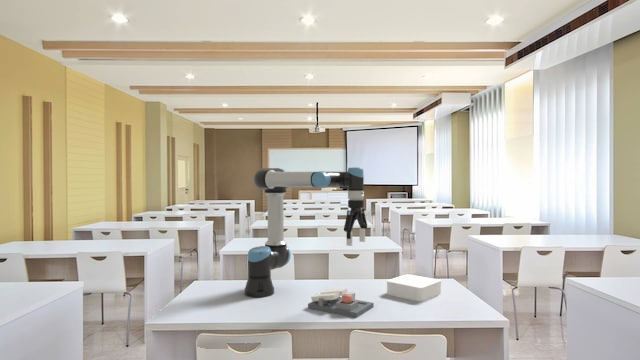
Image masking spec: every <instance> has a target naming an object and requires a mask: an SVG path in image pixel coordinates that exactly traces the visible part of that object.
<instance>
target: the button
mask: <svg viewBox="0 0 640 360" xmlns="http://www.w3.org/2000/svg"><path fill="white" fill-rule="evenodd" d="M341 297H342V303H344V304H352V295H351V294H349V293H346V294H343V295H341Z"/></svg>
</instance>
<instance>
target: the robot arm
mask: <svg viewBox="0 0 640 360" xmlns="http://www.w3.org/2000/svg"><path fill="white" fill-rule="evenodd" d="M364 178H365V176H364V168H363V167H354V166H353V167H347V171H325V170H323V171H322V170H320V171H286V170H285V169H283V168H279V167H278V168H277V167H275V168H273V167H272V168H271V167H268V168H267V167H264V168H263V167H262V168H260V169H258V170H256V171H255V173H254V176H253V182H254V186H256V188H257V189H259V190H261V191H264V195H266V197H267V241H266V242H265V243H264V245H261V246H255V247H252V248H250V249H249V250H248V251H247V281H246V284H245V287H244V295H245V296H247V297H250V298H251V297H252V298H262V297H264V298H265V297H270V296H272V295H273V294H275V287H274V284H273V281H272V274H271V273H272V272H271V271H273V270H275V269H280V268H283V267H285V266H286V265H287V264H288V263H289V262H290V260H291V256H292V255H291V250H290V249H289V247H288V245H287V242H286V240H284V239H285V238H284V235H285V234H284V232H285V231H284V228H285V227H284V196H285V195H286V194H287V189H288V188H319V189H325V188H347V199H348V201H347V207H348V208H349V209H350V210H346V216H345V222H344V227H343V231H344V232H346V234H345V235H346V246H350V247H353V231H352V230H353V229H354V225H355V223H356V221H357V222H358V225H359V228H358V229H359V239H358V240H359V242H361V243H362V242H363V243H365V242H366V229H368V222H367V218H366V213H365V208H364V207H365V201H364V199H365V197H364V195H365V192H364V182H365V180H364Z"/></svg>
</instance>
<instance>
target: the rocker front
mask: <svg viewBox="0 0 640 360" xmlns="http://www.w3.org/2000/svg"><path fill="white" fill-rule="evenodd" d="M338 297H339V293H327V294H320V293H318V294H314V295H312V296H311V297H310V299H311V302H313V301H319V298H321V299H324V300H334V299H336V298H338Z"/></svg>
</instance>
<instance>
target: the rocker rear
mask: <svg viewBox="0 0 640 360" xmlns="http://www.w3.org/2000/svg"><path fill="white" fill-rule="evenodd" d="M327 293H339V296H340V297H342V295H343V294H349V293H348V289H347V288H338V289H328V290H327V289H326V290H324V291H321V292H320V293H319V294H327Z"/></svg>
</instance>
